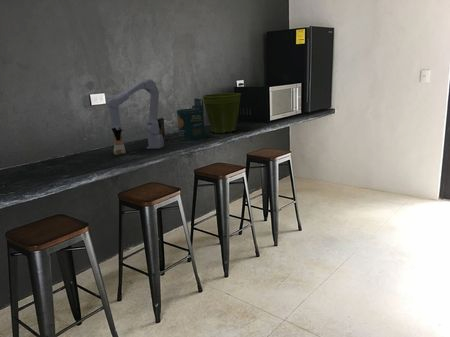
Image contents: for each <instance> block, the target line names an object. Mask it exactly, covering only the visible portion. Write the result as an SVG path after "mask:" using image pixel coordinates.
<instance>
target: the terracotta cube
mask: <svg viewBox="0 0 450 337" xmlns="http://www.w3.org/2000/svg"><path fill="white" fill-rule="evenodd" d="M113 141H114V144H115V145H123V144H124V143H123V136H122V135H121V138H120V141H117V140H116V137H115V136H113Z"/></svg>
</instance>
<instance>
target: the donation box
mask: <svg viewBox="0 0 450 337" xmlns="http://www.w3.org/2000/svg"><path fill="white" fill-rule="evenodd" d="M193 101H194V105H191V108H182V109H177V110H176V115H177V125H178V126H177V127H178V140H180V141H184V142H191V141H198V139H199V140H205V139H204V138H206V134H205V118H204V113H205V112H204V108H205V107H204V100H203V98H202V99H201V98H197V97H196V98H195V97H194V99H193Z"/></svg>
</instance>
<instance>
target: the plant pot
mask: <svg viewBox="0 0 450 337" xmlns="http://www.w3.org/2000/svg"><path fill="white" fill-rule="evenodd" d="M241 96H242V93H239V92H229V93H228V92H225V93H224V92H221V93H212V94H204V95H202V100H203V105H204V108H205V112H206V116H207V119H208V120H207V121H208V123H209V126H210V129H211V132H212V133H213V132H214V134H226V133H225V132H229V133H233V132H232V131H234V132H236V130H237V123H238V117H239V113H240V112H239V111H240V102H241Z"/></svg>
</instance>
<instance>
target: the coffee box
mask: <svg viewBox="0 0 450 337" xmlns="http://www.w3.org/2000/svg"><path fill="white" fill-rule="evenodd" d="M157 121H158V123H159V124H158V126H159V129H160V130H159V132H158V133H159V134H162V136H163V142H164V141H166V130H165V129H166V128H165V118H164V117H157Z"/></svg>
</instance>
